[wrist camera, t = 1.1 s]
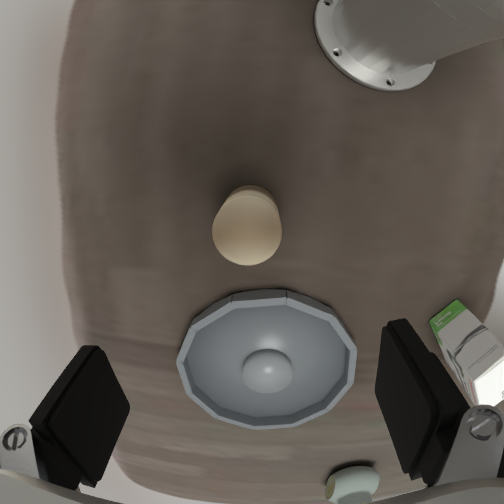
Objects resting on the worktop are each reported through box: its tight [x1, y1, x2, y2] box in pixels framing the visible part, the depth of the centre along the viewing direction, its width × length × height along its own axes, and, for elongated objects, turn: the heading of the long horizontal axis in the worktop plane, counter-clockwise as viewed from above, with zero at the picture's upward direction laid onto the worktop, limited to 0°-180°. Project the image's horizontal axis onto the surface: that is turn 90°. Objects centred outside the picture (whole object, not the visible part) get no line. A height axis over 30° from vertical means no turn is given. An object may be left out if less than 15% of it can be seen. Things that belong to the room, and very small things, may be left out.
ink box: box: [429, 299, 504, 406], centre depth 27 cm, size 9×5×12 cm, turn 37°
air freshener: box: [325, 466, 380, 504], centre depth 40 cm, size 11×8×10 cm
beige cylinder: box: [212, 185, 282, 265], centre depth 26 cm, size 5×5×7 cm
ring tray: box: [176, 289, 357, 430], centre depth 34 cm, size 20×20×2 cm
